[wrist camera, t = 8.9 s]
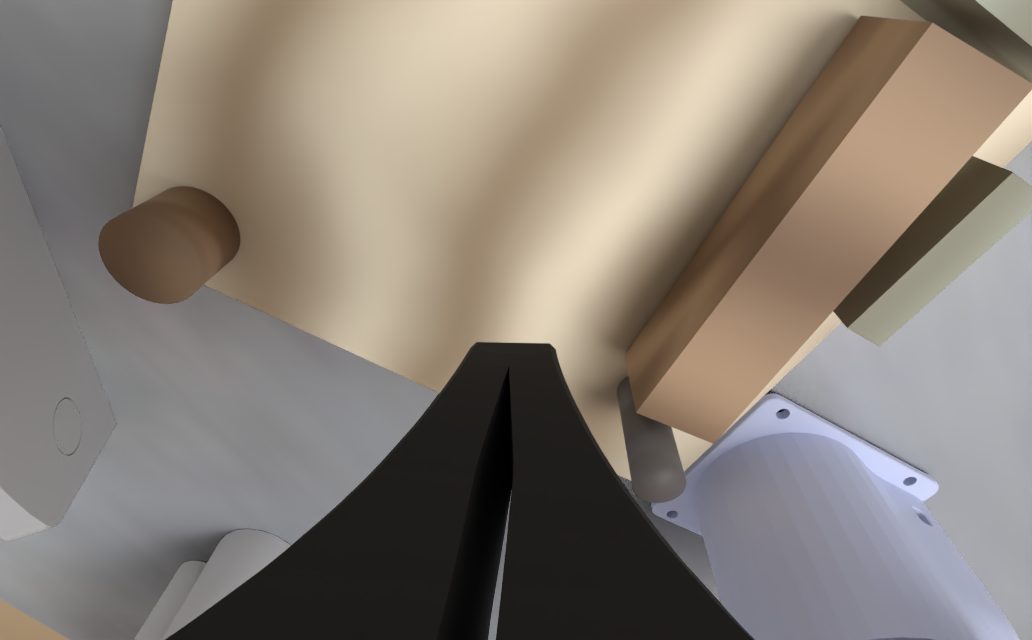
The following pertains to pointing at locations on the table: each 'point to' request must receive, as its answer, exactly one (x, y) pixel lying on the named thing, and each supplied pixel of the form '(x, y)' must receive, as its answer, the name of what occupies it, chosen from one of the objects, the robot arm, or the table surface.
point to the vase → (210, 580)
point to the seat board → (514, 175)
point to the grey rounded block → (40, 375)
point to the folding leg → (817, 216)
